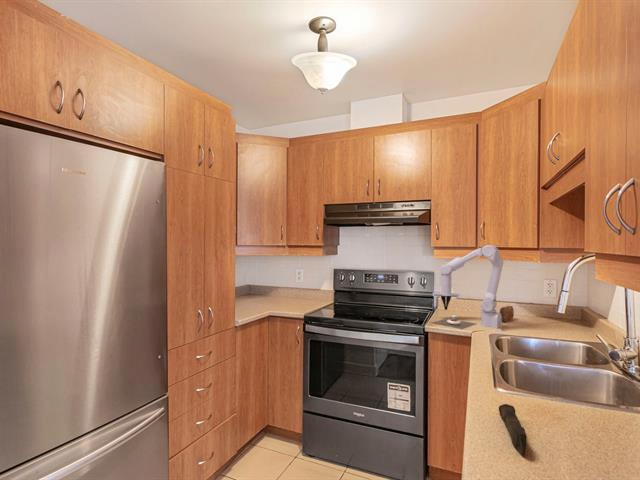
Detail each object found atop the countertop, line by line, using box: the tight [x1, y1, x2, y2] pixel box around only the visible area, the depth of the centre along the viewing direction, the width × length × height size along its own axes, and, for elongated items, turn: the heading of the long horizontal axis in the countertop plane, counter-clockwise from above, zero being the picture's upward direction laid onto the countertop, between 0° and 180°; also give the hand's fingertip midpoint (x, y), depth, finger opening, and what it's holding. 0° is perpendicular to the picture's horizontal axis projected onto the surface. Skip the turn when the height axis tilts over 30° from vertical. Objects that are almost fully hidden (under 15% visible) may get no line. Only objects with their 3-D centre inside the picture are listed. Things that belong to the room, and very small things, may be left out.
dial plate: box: [431, 317, 477, 330], centre depth 202 cm, size 18×18×1 cm
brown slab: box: [498, 305, 515, 323], centre depth 215 cm, size 15×3×8 cm, turn 132°
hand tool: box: [498, 403, 528, 457], centre depth 90 cm, size 19×4×5 cm, turn 161°
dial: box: [447, 314, 462, 325], centre depth 204 cm, size 11×7×3 cm, turn 160°
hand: (445, 309), depth 210 cm, fingers closed
